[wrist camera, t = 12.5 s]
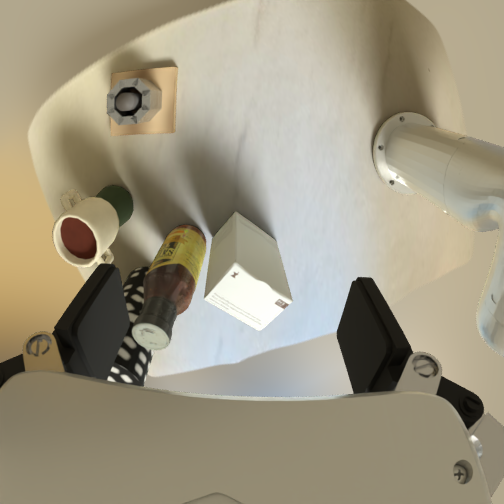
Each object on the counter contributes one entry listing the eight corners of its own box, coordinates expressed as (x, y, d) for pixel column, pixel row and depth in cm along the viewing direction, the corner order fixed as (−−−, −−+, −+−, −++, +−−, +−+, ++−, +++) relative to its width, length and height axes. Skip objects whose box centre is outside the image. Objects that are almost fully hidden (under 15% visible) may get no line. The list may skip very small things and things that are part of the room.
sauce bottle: (182, 214, 42) (138, 298, 24) (216, 239, 44) (196, 334, 26) (159, 245, 44) (112, 335, 26) (191, 268, 46) (163, 365, 28)
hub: (163, 79, 31) (151, 76, 27) (161, 120, 34) (149, 123, 29) (123, 83, 31) (107, 81, 27) (122, 123, 33) (106, 126, 29)
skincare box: (212, 237, 43) (196, 298, 30) (237, 207, 41) (231, 260, 28) (255, 268, 46) (258, 335, 33) (281, 241, 44) (294, 303, 31)
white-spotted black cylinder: (119, 273, 46) (69, 359, 29) (159, 261, 45) (116, 354, 28) (141, 310, 50) (106, 399, 33) (181, 301, 49) (154, 397, 31)
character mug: (84, 183, 39) (35, 214, 27) (118, 161, 37) (71, 187, 26) (116, 241, 44) (80, 287, 32) (151, 225, 42) (119, 270, 31)
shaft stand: (177, 68, 32) (163, 61, 25) (175, 131, 36) (160, 137, 30) (116, 74, 31) (92, 70, 25) (115, 134, 36) (91, 141, 29)
